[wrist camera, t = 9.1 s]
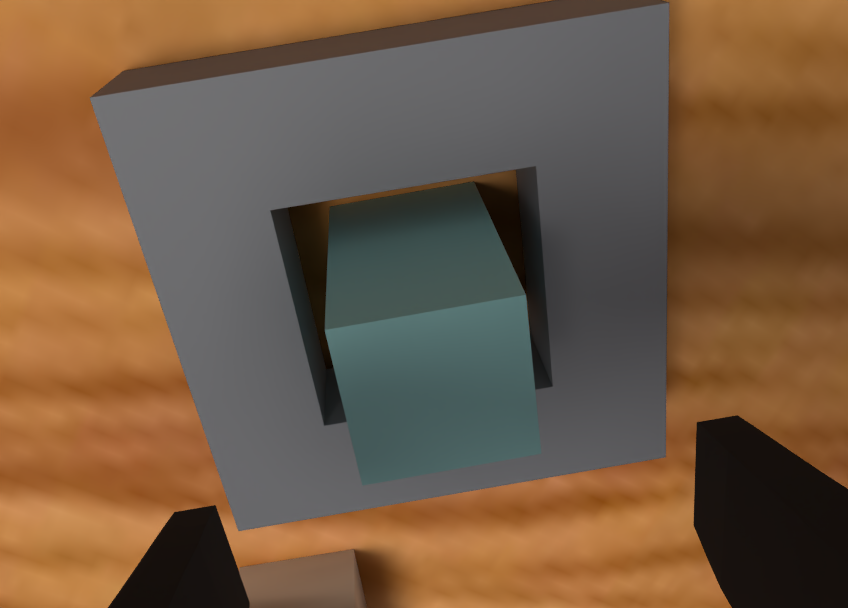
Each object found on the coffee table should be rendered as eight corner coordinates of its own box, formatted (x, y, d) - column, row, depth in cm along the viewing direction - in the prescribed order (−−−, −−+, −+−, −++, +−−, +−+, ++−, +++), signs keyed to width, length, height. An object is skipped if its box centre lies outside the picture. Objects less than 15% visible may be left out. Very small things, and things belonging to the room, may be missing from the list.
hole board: (633, 401, 22) (665, 457, 20) (248, 467, 22) (238, 531, 20) (626, -12, 17) (669, 2, 15) (122, 70, 17) (89, 97, 14)
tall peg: (489, 308, 20) (541, 453, 15) (357, 331, 20) (362, 485, 15) (473, 181, 19) (526, 294, 13) (329, 206, 19) (324, 330, 13)
